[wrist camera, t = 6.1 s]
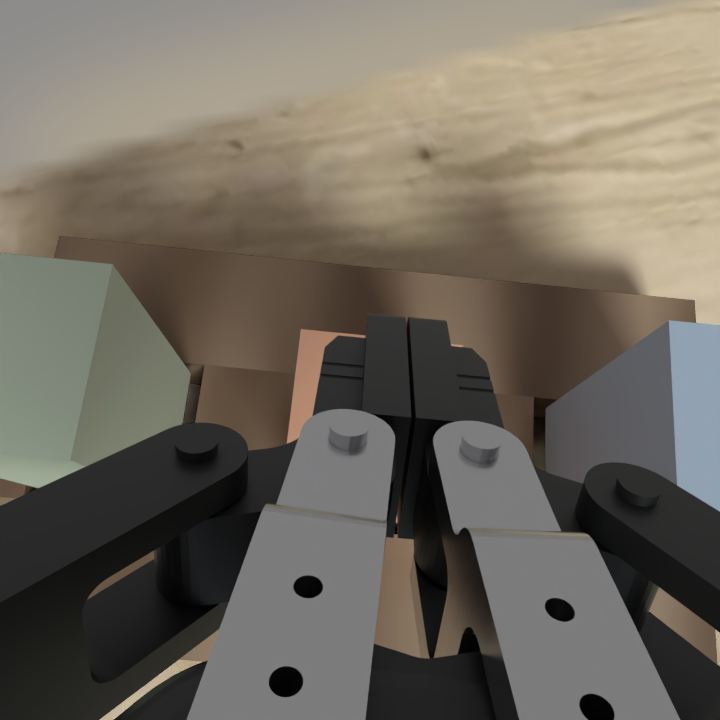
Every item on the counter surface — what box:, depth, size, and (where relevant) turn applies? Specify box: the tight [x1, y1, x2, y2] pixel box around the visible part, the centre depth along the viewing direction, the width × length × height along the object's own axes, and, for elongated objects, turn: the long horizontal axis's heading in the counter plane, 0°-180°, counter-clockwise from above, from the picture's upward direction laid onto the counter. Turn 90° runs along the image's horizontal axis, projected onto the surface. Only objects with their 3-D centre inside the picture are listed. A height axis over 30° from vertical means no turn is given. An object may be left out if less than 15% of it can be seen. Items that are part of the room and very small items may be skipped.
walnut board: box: [0, 236, 717, 664], centre depth 25 cm, size 24×14×3 cm, turn 85°
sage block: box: [0, 253, 191, 488], centre depth 19 cm, size 4×4×9 cm
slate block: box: [545, 320, 720, 511], centre depth 19 cm, size 4×4×9 cm
